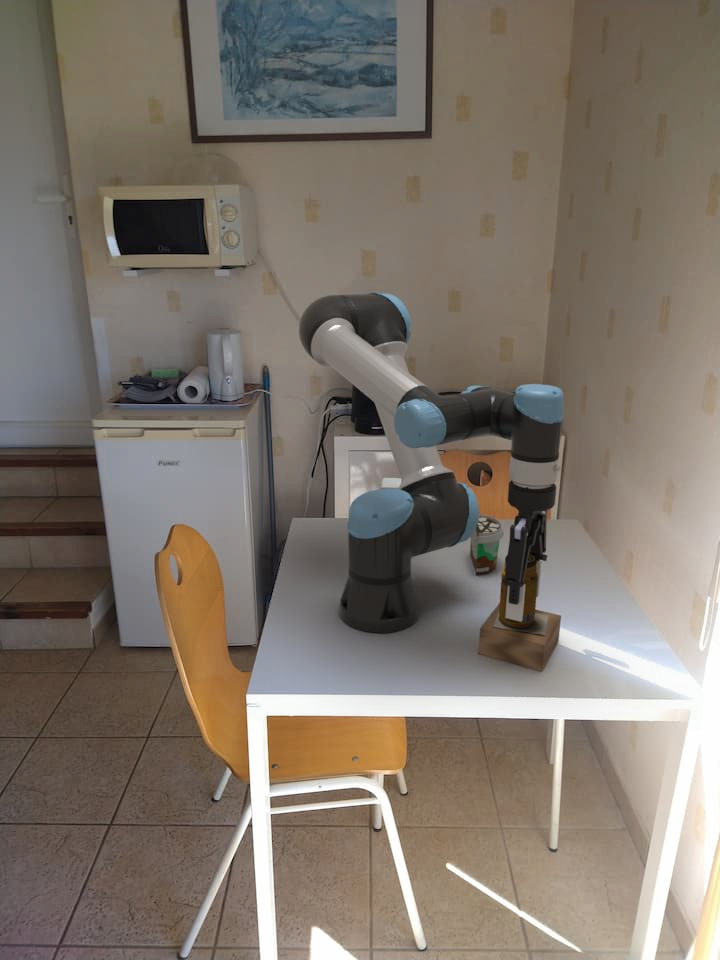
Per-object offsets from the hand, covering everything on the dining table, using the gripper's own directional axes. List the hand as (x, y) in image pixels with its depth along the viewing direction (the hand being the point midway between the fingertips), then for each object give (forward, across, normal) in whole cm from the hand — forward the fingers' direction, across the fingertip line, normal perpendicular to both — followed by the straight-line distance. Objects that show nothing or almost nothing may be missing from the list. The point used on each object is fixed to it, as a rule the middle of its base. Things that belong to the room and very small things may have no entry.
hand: (522, 606), depth 122 cm
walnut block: (+8, 0, 0) cm, 8 cm away
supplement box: (+8, +38, +42) cm, 57 cm away
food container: (+8, +29, +16) cm, 34 cm away
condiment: (+3, 0, 0) cm, 3 cm away
